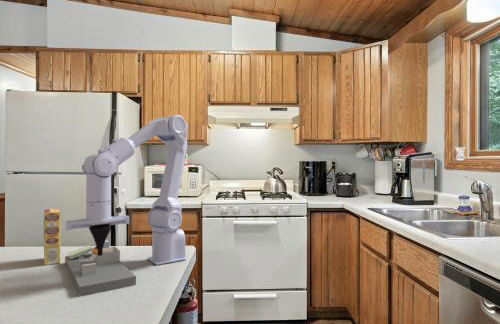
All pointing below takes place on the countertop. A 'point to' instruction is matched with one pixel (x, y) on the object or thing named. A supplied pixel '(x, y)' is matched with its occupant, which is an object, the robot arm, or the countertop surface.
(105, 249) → the button
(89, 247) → the block
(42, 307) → the countertop surface
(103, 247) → the block
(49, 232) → the candy box
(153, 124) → the robot arm
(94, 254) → the lever
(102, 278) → the panel
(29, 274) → the countertop surface
